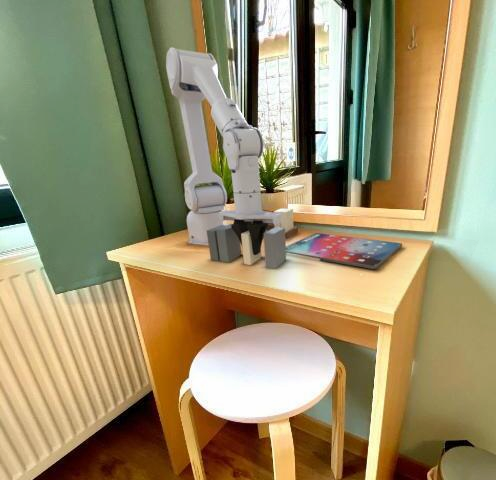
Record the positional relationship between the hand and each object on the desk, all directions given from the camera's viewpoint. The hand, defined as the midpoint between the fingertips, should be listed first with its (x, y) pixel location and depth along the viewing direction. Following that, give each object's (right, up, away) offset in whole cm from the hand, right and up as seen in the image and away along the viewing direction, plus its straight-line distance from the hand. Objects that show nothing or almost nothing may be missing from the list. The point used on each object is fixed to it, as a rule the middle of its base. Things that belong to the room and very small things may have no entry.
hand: (252, 253), depth 69 cm
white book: (0, -2, +1) cm, 2 cm away
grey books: (-1, -2, +1) cm, 2 cm away
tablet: (+21, +1, +6) cm, 22 cm away
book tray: (+4, +7, +21) cm, 23 cm away
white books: (+7, +7, +20) cm, 22 cm away
